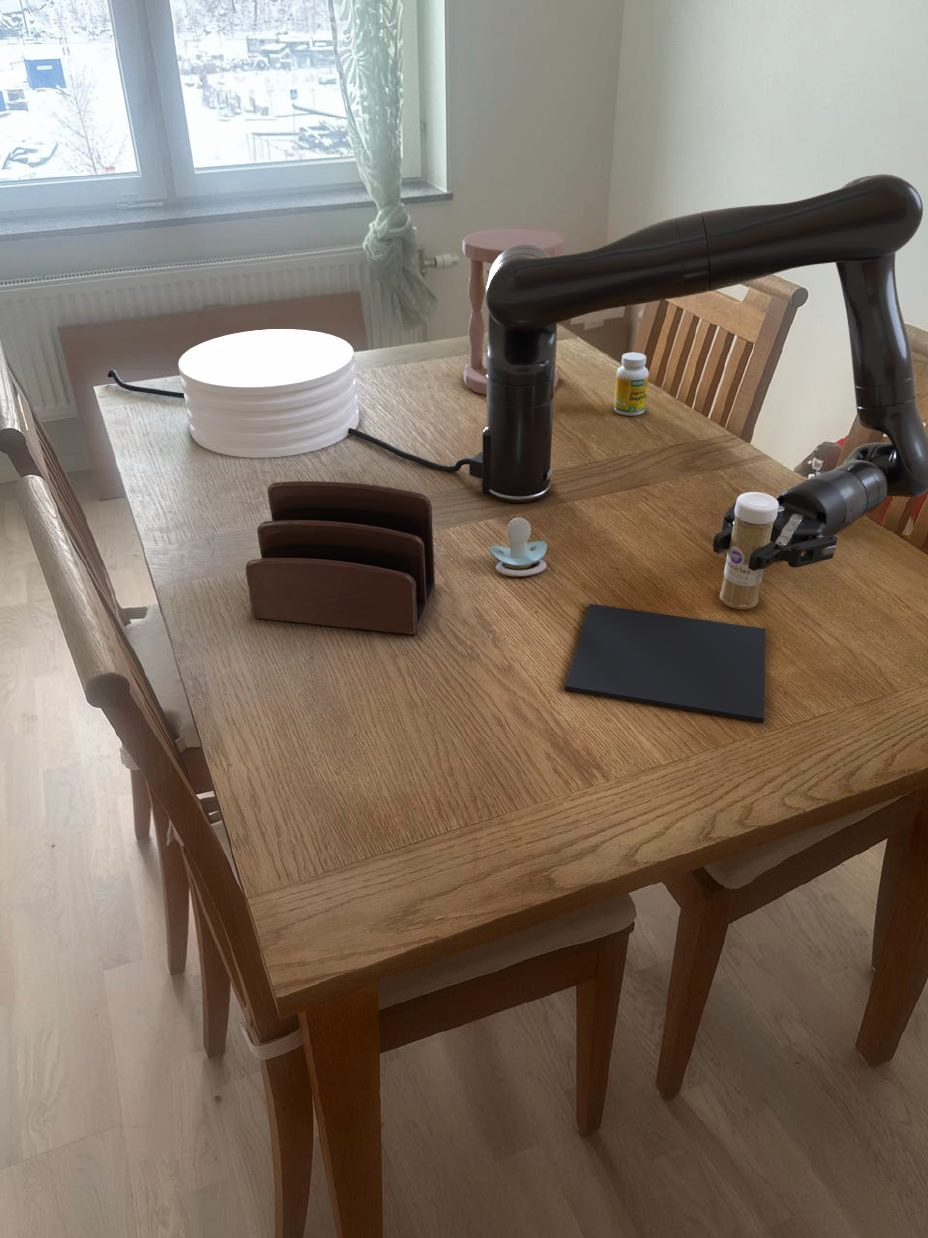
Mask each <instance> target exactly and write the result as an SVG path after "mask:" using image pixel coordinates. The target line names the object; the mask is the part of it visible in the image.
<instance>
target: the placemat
mask: <svg viewBox="0 0 928 1238" xmlns="http://www.w3.org/2000/svg"><path fill="white" fill-rule="evenodd" d="M579 634H580V635H579V638H578V640H577V641H578V642H577V645H576V648H575V652H574V655H573V658H572V661H571V664H570V668H569V671H568V675H567V678H566V682H565V684H564V691H567V692H572V693H579V694H585V695H591V696H598V697H604V698H609V699H616V700H621V701H628V702H634V703H639V704H646V705H652V706H659V707H665V708H671V709H677V710H681V711H682V710H683V711H689V712H695V713H700V714H708V715H713V716H717V717H725V718H731V719H738V720H743V721H749V722H755V723H762V724H763V723H764V721H765V691H766V690H765V686H766V685H765V683H766V682H765V681H766V679H765V678H766V628H763V627H755V626H750V625H743V624H734V623H729V622H720V621H714V620H707V619H700V618H693V617H686V616H679V615H672V614H666V613H658V612H653V611H652V612H650V611H644V610H636V609H630V608H623V607H616V606H609V605H601V604H594V603H589V604H588V607H587V610H586V614H585V617H584V622H583V624H582V628H581V631H580V633H579Z"/></svg>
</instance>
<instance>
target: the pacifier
mask: <svg viewBox="0 0 928 1238" xmlns="http://www.w3.org/2000/svg"><path fill="white" fill-rule="evenodd" d="M531 528H532V527H531V525H530V522H529V521H528V520H526V519H525V518H523V517H515V518H513V519H512V520H510V521H509V523H508V525H507V528H506V534H507V537H508V539H509V547H506V546H502V545H493V544H492V545H490V546H489V547H488V548H489V552H490V554H491V555H492V556H493V557H494V558H495V559H496V560H497V561H498V563H497V565H496V566H495V570H496V571H497V572H498V573H499V574H501V575H505V576H509V577H529V576H533V575H537V574H540V573H542V572H543V571H545V570H546V568H547V563H546V561H545V560H543V557H544V556H545V555H546V553H547V551H548V545H547V542H546V541H544V540H535V541H531V542H529V543H528V540H529V539H530V536H531V533H532V532H531V531H532V529H531ZM532 549H534V550H532ZM533 564H536V566H535V567H532V568H529V567H531V566H532V565H533ZM527 568H528V569H527Z"/></svg>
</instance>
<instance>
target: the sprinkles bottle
mask: <svg viewBox="0 0 928 1238" xmlns="http://www.w3.org/2000/svg"><path fill="white" fill-rule="evenodd" d="M776 499H777V498H775V497H774V496H772V495H770V494H768V493H764V492H760V491H748V492H744V493H741V494H740V495H738V496H737V497H736V500H735V502H736V505H735V510H734V513H735V521H734V526H733V531H732V536H731V541H730V546H729V549H728V550H727V553H726V554H727V555H726V559H725V560H726V561H725V563H724V565H725V566H724V571H723V578H722V579H723V580H722V585H721V590H720V592H719V600H720V601H721V602H722V604H724V605H725V606H727V607H729V608H732V609H734V610H750V609H752V608H754V607H756V605H757V604H758V603H759V595H760V590H761V584H762V581H763V577H764V574H765V569H758V570H756V571H753V570H751V569H749V568H748V566H749V560H750V556H751V554H752V553H753V552H754V551H756V550H758V549H759V548H761V547H763V546H765V545H767V544H769V543H770V542H771V541H770V538H771V532H772V528H773V523H774V522H775V519H776V517H777V512H778V507H779V503H778V501H777V500H776Z"/></svg>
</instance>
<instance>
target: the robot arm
mask: <svg viewBox="0 0 928 1238" xmlns="http://www.w3.org/2000/svg"><path fill="white" fill-rule="evenodd" d="M923 204H924V203H923V200H922V197H921V195H920V193H919V192H918V191H917V189H916V188H915V186H913V185H912V184H911V183H910V182H909V181H907V180H905V179H904V178H902V177H900V176H897V175H894V174H887V173H886V174H885V173H882V174H873V175H866V176H862V177H861V176H860V177H858V178H855V179H852V180H850V181H849V182H847V183H846V184H844V185H843V186H842V187H841V188H839V189H835V190H832V191H829V192H825V193H822V194H817V195H815V196H812V197H808V198H804V199H801V200H795V201H792V202H784V203H772V204H759V205H757V204H756V205H745V206H734V207H733V206H732V207H725V208H719V209H713V210H706V211H701V212H697V213H691V214H687V215H683V216H677V217H673V218H669V219H665V220H662V221H658V222H656V223H653V224H650V225H648V226H645V227H643V228H640V229H637V230H635V231H633V232H631V233H629V234H627V235H624V236H623V237H621V238H618V239H616V240H614V241H612V242H609V243H608V244H605V245H602V246H600V247H598V248H593V249H590V250H586V251H582V252H577V253H569V254H563V255H562V256H554V257H550V256H549V255H548V254H547V253H546V252H545V251H544V250H542V249H540V248H539V247H536V246H533V245H527V244H522V245H516V246H513V247H511V248H509V249H507V250H505V251H504V252H503V253H502V254H501V255H499V257H498V258H497V259H496V260H495V262H494V264H492V266H491V267H492V268H491V267H490V268H491V270H490V274H489V277H488V278H487V282H486V286H485V305H486V308H487V311H488V314H487V315H488V320H487V321H488V325H487V326H488V327H487V329H488V330H487V347H486V348H487V349H486V357H487V395H486V426H485V428H484V430H483V432H482V437H481V438H482V439H481V440H482V445H481V447H482V451H480V452H479V453H477V454H476V455H474V456H472V457H463V458H460V459H458V460H457V461H456V462H455V464H454V465H443V464H439V463H436V462H434V461H430V460H428V459H425V458H422V457H420V456H417V455H415V454H412V453H409V452H407V451H404V450H402V449H399V448H397V447H395V446H393V445H391V444H390V443H388V442H385V441H383V440H382V439H378V438H376V437H375V436H371V435H369V434H367V433H365V432H362V431H359V430H357V429H356V428H355V429H352V428H349V429H348V433H349V435H351V436H353V437H356V438H358V439H361V440H364V441H366V442H368V443H370V444H374V445H375V446H378V447H380V448H382V449H383V450H386V451H388V452H390V453H392V454H393V455H395V456H398V457H400V458H402V459H405V460H408V461H410V462H413V463H416V464H418V465H421V466H423V467H425V468H428V469H432V470H436V471H441V472H446V473H454V472H458V471H460V470H461V468H462V466H464V465H469V466H468V470H469V471H468V472H469V473H468V475H469V476H470V477H474V478H478V479H481V481H482V483H481V484H482V485H481V489H482V490H481V494H482V495H485V496H490V497H491V498H493V499H495V500H498V501H502V502H505V503H511V504H514V503H515V504H523V503H524V504H525V503H532V502H536V501H539V500H541V499H544V498H545V497H547V496H548V494H549V493H550V491H551V475H552V473H553V471H554V463H552V442H553V441H552V440H553V423H554V420H553V419H554V401H555V387H554V382H555V366H556V363H557V342H558V341H557V337H558V335H557V334H558V324H559V323H562V322H565V321H568V320H571V319H575V318H578V317H582V316H585V315H587V314H592V313H595V312H599V311H604V310H609V309H610V310H611V309H617V308H624V307H630V306H637V305H643V304H648V303H653V302H654V303H655V302H658V301H659V302H660V301H665V300H672V299H678V298H683V297H689V296H695V295H699V294H703V293H704V294H705V293H708V292H709V293H710V292H713V291H717V290H721V289H724V288H725V289H726V288H729V287H734V286H737V285H742V284H745V283H749V282H752V281H756V280H759V279H763V278H766V277H770V276H773V275H775V274H778V273H782V272H786V271H789V270H793V269H797V268H804V267H808V266H809V267H810V266H816V265H825V264H833V263H835V266H836V270H837V274H838V278H839V282H840V286H841V290H842V291H841V292H842V296H843V299H844V300H843V301H844V305H845V306H844V307H845V312H846V319H847V326H848V327H847V328H848V335H849V344H850V354H851V356H850V357H851V365H852V378H853V388H854V398H855V408H856V416H857V420H858V423H859V424H860V426H862V427H863V428H866V429H869V430H871V431H876V432H880V433H882V434H884V435H885V436H887V438H888V439H889V441H890V442H889V441H888V442H883V441H882V442H879V441H878V442H870V443H865V444H861V445H859V446H858V447H856V448H854V449H853V450H852V451H851V453H850V454H849V455H848V456H847V457H846V459H845V460H844V461H843V462H842V464H841V465H839V466H837V467H835V468H832V469H831V470H829V471H825V472H822V473H818V474H816V475H814V476H813V477H810V478H808V479H807V480H805V481H803V482H800V483H799V484H797V485H795V486H792V487H791V488H788V489H787V490H784V492H782V493H781V494H780V495H778V497H777V498H775V499H776V500H777V501H778V503H779V507H778V512H777V517H776V519H775V522H774V523H773V528H772V532H771V538H770V543H769V544H767V545H765V546H763V547H761V548H759V549H758V550H756V551H754V552H753V553H752V554H751V556H750V560H749V566H748V568H749V569H751V570H753V571H756V570H758V569H764V570H765V569H766V568H769V567H770V566H772V565H773V564H781V563H783V562H785V563H787V564H788V566H789V567H791V568H795V569H796V568H800V567H804V566H808V565H812V564H816V563H820V562H823V561H828V560H832V559H833V558H834V555H835V551H836V547H837V542H838V539H839V538H838V537H837V536H836V535H838V534H839V533H841V532H843V531H844V530H846V529H847V528H849V527H850V526H852V525H853V524H854V523H856V521H858V520H859V519H861V518H863V517H865V516H866V515H869V514H870V513H872V512H873V511H875V510H877V508H878V507H879V506H880V505H881V504H882V503H883V502H884V501H885V499H886V497H897V498H898V497H900V498H914V497H915V498H916V497H920V496H922V495H924V494H926V493H927V492H928V433H927V430H926V427H925V425H924V422H923V419H922V416H921V414H920V411H919V409H918V405H917V391H916V379H915V367H914V358H913V351H912V348H911V343H910V339H909V335H908V330H907V329H906V324H905V320H904V318H903V314H902V310H901V306H900V301H899V295H898V290H897V289H898V288H897V279H896V278H897V277H896V253H897V252H898V251H899V250H901V249H903V247H904V246H906V245H907V244H908V243H909V242H910V241H911V240H912V238H913V237H914V236H915V235H916V234H917V232H918V230H919V228H920V226H921V223H922V220H923V214H924V205H923ZM107 378H113V380H114V381H115V383H116V384H117V386H119V387H120V388H122V389H124V390H127V391H131V392H134V393H135V392H137V393H142V394H151V395H159V396H164V397H170V398H176V399H177V398H178V399H184V400H185V398H184V392H180V391H173V390H166V389H159V388H153V387H145V386H137V385H132V384H129V383H126V382H124V381H122V379H121V378H120V376H119V374H118V372H117V371H116V370H115V369H110V370H109V371H108V373H107ZM551 463H552V465H551ZM735 505H736V501H735V502H734V503H733V504H732V505H731V506H730V507H729V509H728V510H727V511H726V512H725V513H724V514H723V519H722V524H721V530H720V531H719V532H717V533H715V534H714V537H713V542H712V552H713V553H715V554H718V555H721V554H722V553H724V552H726V551H728V550H729V546H730V541H731V536H732V531H733V526H734V521H735V513H734V510H735ZM803 553H804V554H803Z"/></svg>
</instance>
